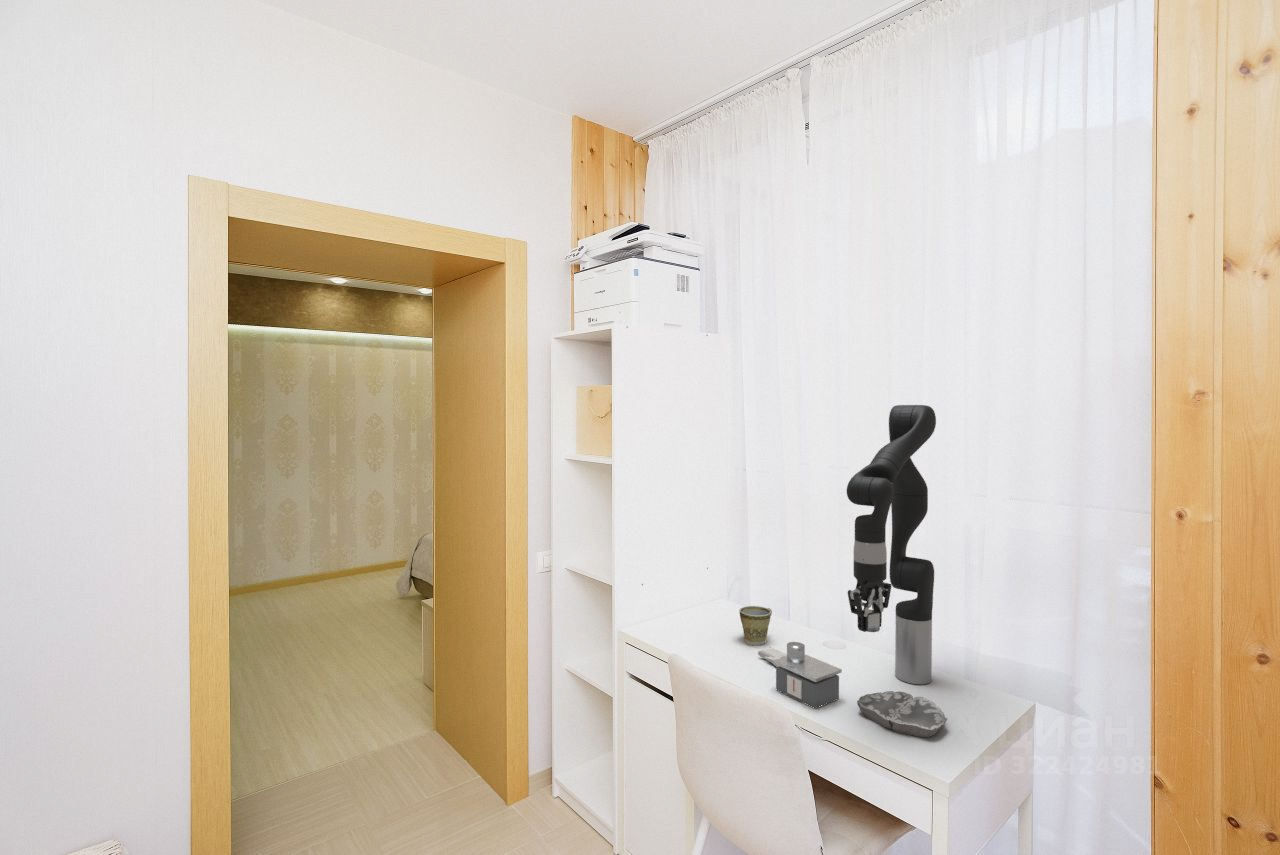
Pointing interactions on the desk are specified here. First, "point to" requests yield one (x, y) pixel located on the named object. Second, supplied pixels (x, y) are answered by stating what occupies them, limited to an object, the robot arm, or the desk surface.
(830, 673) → the pan
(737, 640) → the desk surface
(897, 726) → the brain slice
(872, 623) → the cylinder
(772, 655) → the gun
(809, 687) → the scale
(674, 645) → the desk surface
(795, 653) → the cylinder
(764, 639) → the ceramic cup
